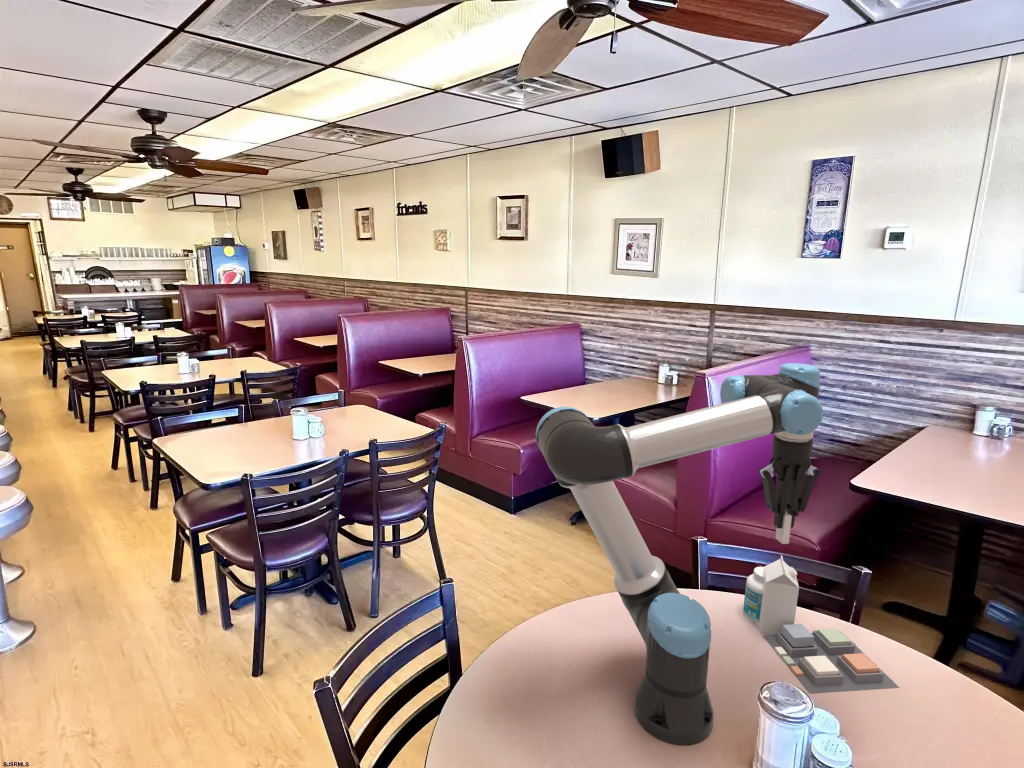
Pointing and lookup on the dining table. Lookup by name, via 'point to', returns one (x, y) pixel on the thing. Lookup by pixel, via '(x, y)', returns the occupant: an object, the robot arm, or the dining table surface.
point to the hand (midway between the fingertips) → (782, 540)
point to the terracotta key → (860, 663)
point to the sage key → (833, 637)
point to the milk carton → (778, 597)
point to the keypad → (846, 676)
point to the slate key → (797, 635)
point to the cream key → (821, 666)
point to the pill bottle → (754, 595)
